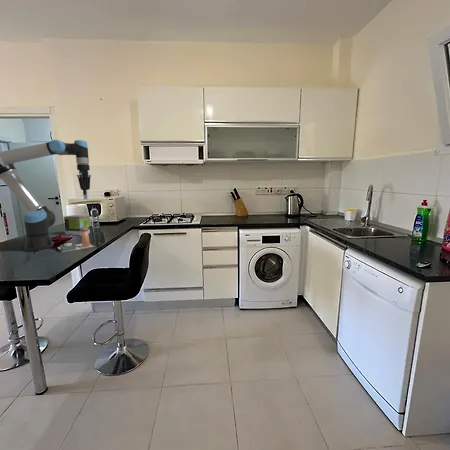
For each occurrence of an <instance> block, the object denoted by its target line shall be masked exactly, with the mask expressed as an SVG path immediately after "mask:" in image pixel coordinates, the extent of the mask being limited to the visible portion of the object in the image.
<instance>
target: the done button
mask: <svg viewBox="0 0 450 450" xmlns="http://www.w3.org/2000/svg"><path fill="white" fill-rule="evenodd" d="M63 245H64V247H66V246H72V242H63Z"/></svg>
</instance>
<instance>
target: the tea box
mask: <svg viewBox="0 0 450 450" xmlns="http://www.w3.org/2000/svg"><path fill="white" fill-rule="evenodd" d="M89 219H90V218H89V215H82V214H81V215H78V214H77V215H76V214H73V215H67V216H63V222H64V223H63V224H64V231H65V233H64V234H65V235H66V236H81V229H80V228H88V234H89V235H90V234H91V233H90V232H91V231H90V229H91V227H90V221H89Z"/></svg>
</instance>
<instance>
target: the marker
mask: <svg viewBox="0 0 450 450" xmlns="http://www.w3.org/2000/svg"><path fill="white" fill-rule="evenodd" d="M80 229H81V235H80V236H81V244H82V245H83V247H88V246H90V244H91V243H90V236H89V235H90V233H89V234H88V228H80ZM89 243H90V244H89Z"/></svg>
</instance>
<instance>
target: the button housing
mask: <svg viewBox="0 0 450 450" xmlns="http://www.w3.org/2000/svg"><path fill="white" fill-rule="evenodd" d="M71 243H72V242H71ZM76 245H77V244H75V243H74V242H73V243H72V246H66V247H64V244H60V245H59V247H60V249H61V250H62V251H63V252H62V251H61V250H60V249H59V250H60V251H61V252H62V253H64V251H65V252H69V251H70V250H71V251H75V250H76ZM71 251H70V252H71ZM76 251H77V250H76Z"/></svg>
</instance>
